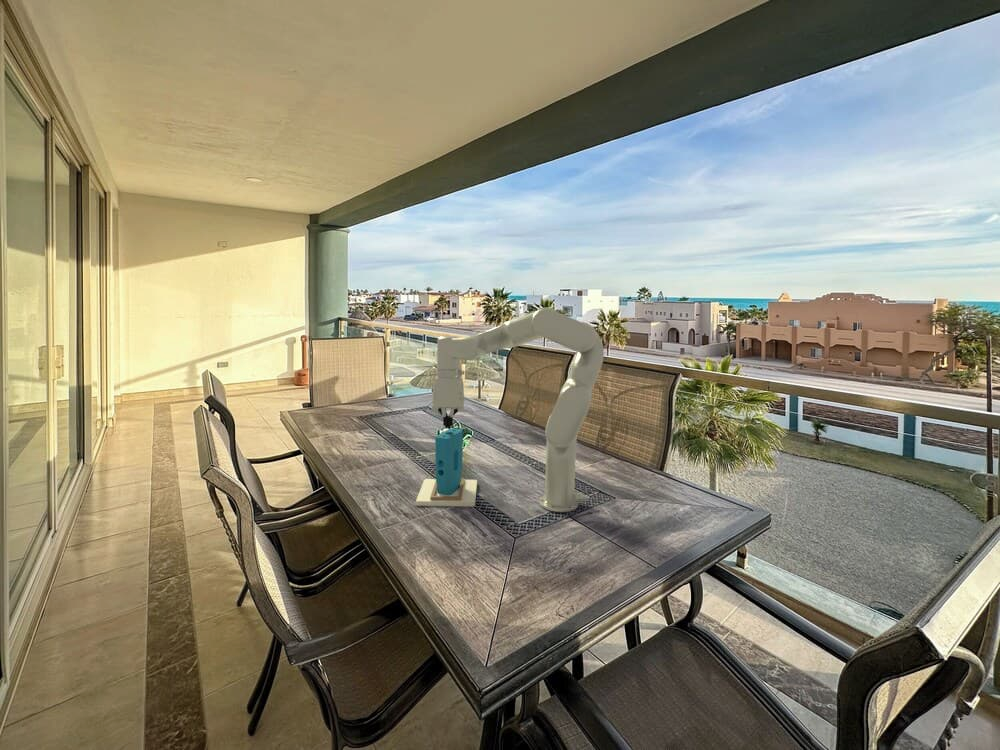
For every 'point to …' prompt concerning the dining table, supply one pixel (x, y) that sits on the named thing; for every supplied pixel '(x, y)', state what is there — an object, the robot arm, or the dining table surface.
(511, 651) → the dining table surface
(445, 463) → the block
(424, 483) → the base board
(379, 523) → the dining table surface
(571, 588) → the dining table surface
